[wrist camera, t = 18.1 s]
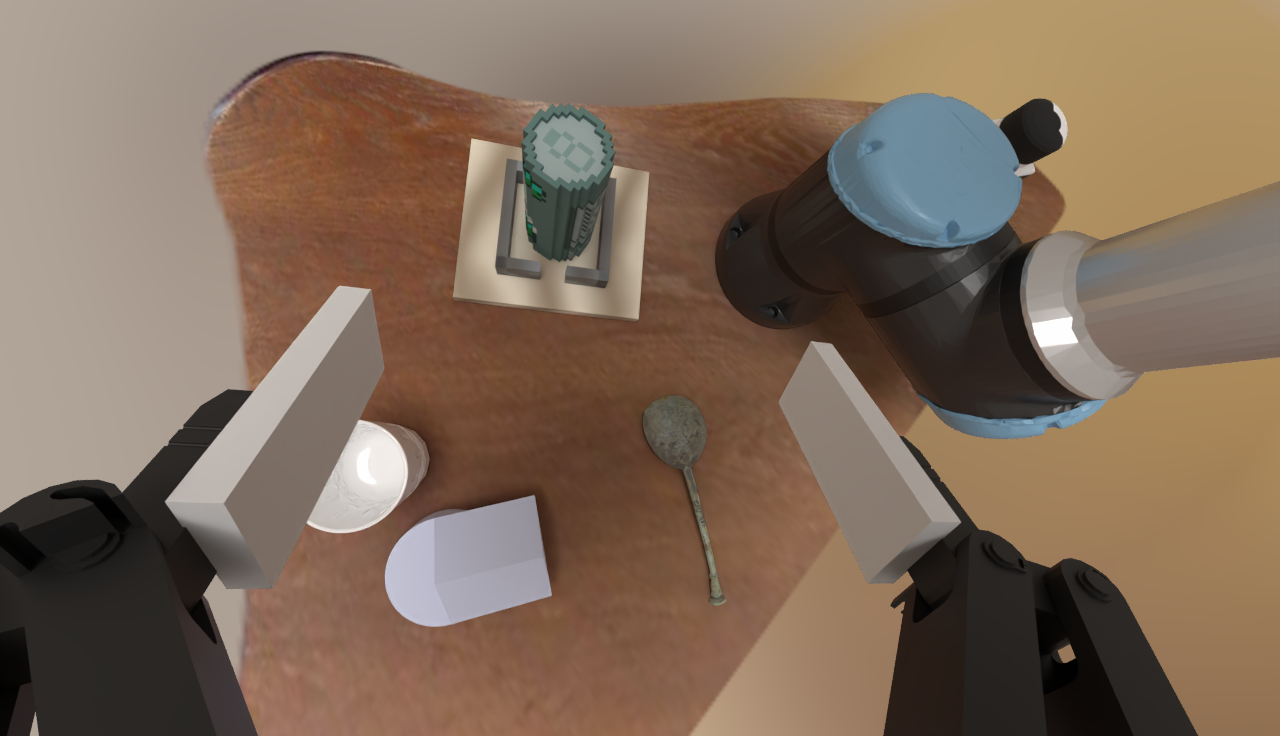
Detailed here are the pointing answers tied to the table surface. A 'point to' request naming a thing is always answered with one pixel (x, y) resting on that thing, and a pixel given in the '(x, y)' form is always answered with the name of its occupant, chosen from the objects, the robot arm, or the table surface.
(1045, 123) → the medicine bottle
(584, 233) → the can
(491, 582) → the wedge on round base
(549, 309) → the board with grey rim
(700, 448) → the soupspoon
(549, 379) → the table surface
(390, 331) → the table surface
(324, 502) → the white cup
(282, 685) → the table surface
